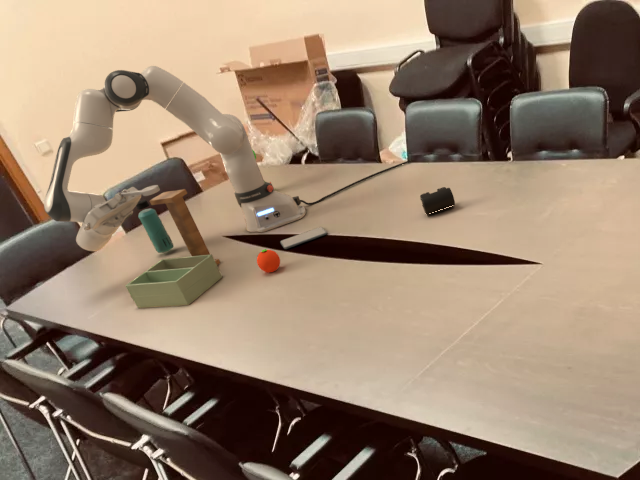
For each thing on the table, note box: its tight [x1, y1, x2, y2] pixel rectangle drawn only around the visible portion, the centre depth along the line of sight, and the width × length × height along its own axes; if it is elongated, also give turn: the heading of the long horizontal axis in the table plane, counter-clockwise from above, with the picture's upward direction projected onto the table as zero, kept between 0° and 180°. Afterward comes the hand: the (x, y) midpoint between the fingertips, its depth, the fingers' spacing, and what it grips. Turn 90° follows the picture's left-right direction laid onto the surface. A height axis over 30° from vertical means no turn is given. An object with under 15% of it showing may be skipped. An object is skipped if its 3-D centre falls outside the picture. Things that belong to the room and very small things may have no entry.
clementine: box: [256, 248, 281, 273], centre depth 222 cm, size 8×7×7 cm
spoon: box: [120, 184, 161, 197], centre depth 217 cm, size 16×5×1 cm, turn 73°
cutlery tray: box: [124, 253, 223, 309], centre depth 224 cm, size 20×18×8 cm
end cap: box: [419, 186, 456, 217], centre depth 233 cm, size 10×7×7 cm
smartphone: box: [279, 226, 328, 250], centre depth 241 cm, size 8×1×15 cm
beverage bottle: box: [135, 199, 175, 254], centre depth 257 cm, size 6×7×20 cm
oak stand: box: [149, 188, 221, 266], centre depth 233 cm, size 9×7×26 cm
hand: (123, 193), depth 219 cm, fingers closed on spoon, 1 cm apart
